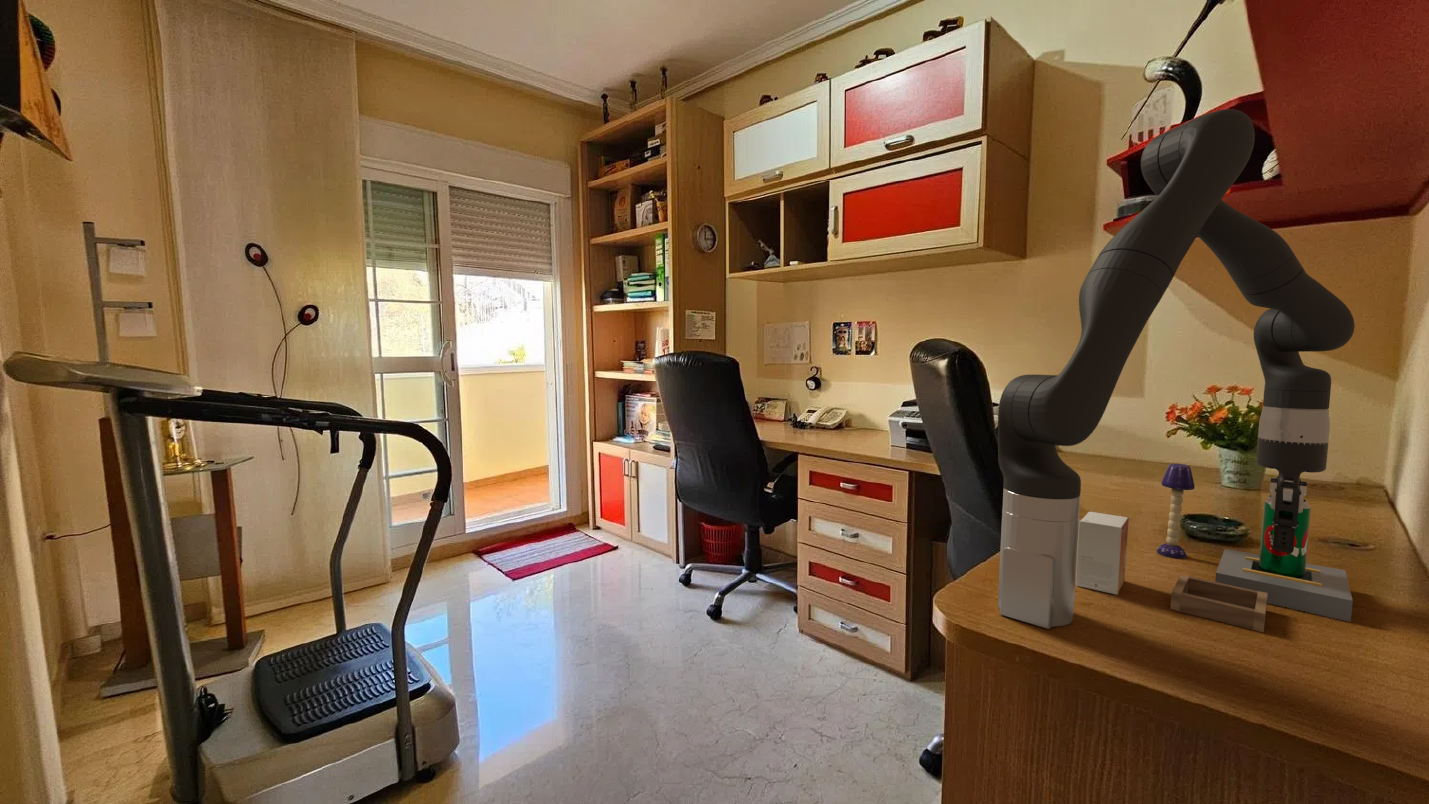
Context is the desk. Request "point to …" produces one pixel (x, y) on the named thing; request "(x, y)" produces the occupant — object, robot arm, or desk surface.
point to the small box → (1102, 552)
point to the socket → (1290, 585)
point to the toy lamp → (1175, 507)
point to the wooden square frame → (1220, 602)
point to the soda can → (1284, 561)
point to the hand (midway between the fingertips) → (1283, 546)
